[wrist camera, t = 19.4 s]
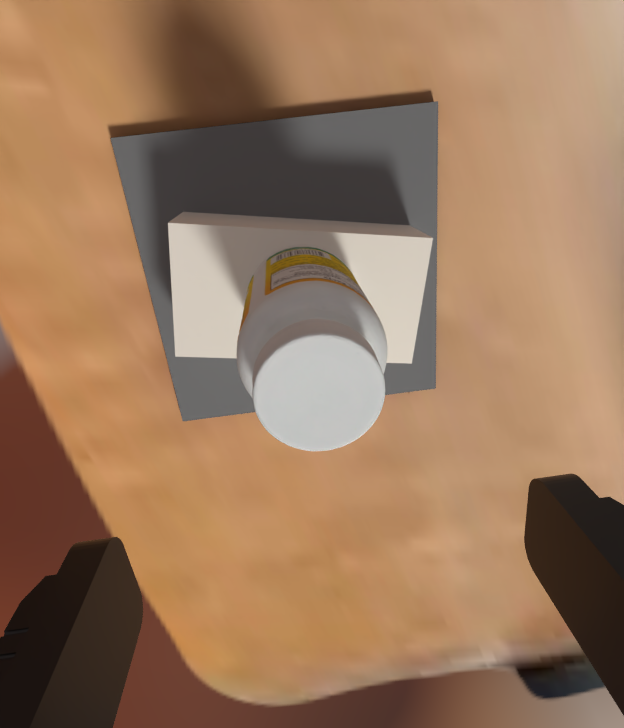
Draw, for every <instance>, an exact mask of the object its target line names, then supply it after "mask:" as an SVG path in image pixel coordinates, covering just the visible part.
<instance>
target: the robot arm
mask: <svg viewBox="0 0 624 728" xmlns="http://www.w3.org/2000/svg"><path fill="white" fill-rule="evenodd" d="M524 541H525V549H526V553H527V557H528V560H529V563H530V565H531V567H532V569H533V571H534V573H535V575H536V576H537V578H538V579H539V581H540V583H541V584H542V586H543V587H544V589H545V591H546V592H547V594H548V595H549V597H550V599H551V600H552V602H553V603H554V605H555V607H556V608H557V610H558V611H559V613H560V614H561V616H562V618H563V619H564V621H565V622H566V624H567V626H568V627H569V629H570V630H571V632H572V634H573V635H574V637H575V638H576V640H577V642H578V643H579V645H580V646H581V648H582V650H583V651H584V653H585V654H586V656H587V658H588V659H589V661H590V662H591V664H592V666H593V667H594V669H595V670H596V672H597V674H598V675H599V677H600V678H601V680H602V682H603V683H604V685H605V686H606V688H607V690H608V691H609V693H610V694H611V696H612V698H613V699H614V701H615V702H616V704H617V705H618V707H619V709H620V710H621V712H622V714H623V715H624V505H623V504H621V503H619V502H617V501H616V500H614V499H612V498H611V497H605V498H599V497H598V496H597V495H596V494H595V493H594V492H593V491H592V490H591V489H590V488H589V487H588V486H587V484H586V483H585V482H584V481H583V480H582V479H581V478H580V477H578V476H577V475H575V474H565V475H558V476H551V477H544V478H537V479H533V480H532V481H531V482H530V485H529V492H528V503H527V514H526V525H525V536H524ZM142 615H143V602H142V595H141V591H140V589H139V586H138V583H137V580H136V578H135V575H134V572H133V570H132V567H131V564H130V561H129V559H128V556H127V553H126V551H125V548H124V545H123V543H122V541H121V540H120V539H119V538H118V537H112V538H106V539H99V540H91V541H84V542H78V543H75V544H74V545H73V546H72V547H71V549H70V550H69V552H68V554H67V556H66V558H65V560H64V562H63V563H62V565H61V568H60V569H59V571H58V573H57V575H51V576H45V577H44V579H42V581H41V582H40V583H39V584H38V585H37V586H36V587H35V588H34V589H33V590H32V591H31V592H30V593H29V594H28V595H27V596H26V597H25V598H24V599H23V600H22V601H21V603H20V604H19V606H18V608H17V610H16V611H15V613H14V615H13V617H12V618H11V620H10V622H9V624H8V626H7V627H6V629H5V631H4V632H5V634H4V637H1V638H0V728H113V724H114V721H115V717H116V714H117V710H118V707H119V703H120V700H121V696H122V692H123V689H124V686H125V682H126V678H127V675H128V671H129V668H130V664H131V661H132V657H133V654H134V650H135V647H136V643H137V639H138V636H139V632H140V629H141V624H142V617H143V616H142Z"/></svg>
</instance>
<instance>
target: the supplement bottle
mask: <svg viewBox="0 0 624 728" xmlns="http://www.w3.org/2000/svg"><path fill="white" fill-rule="evenodd" d="M386 363H387V339H386V335H385V331H384V328H383V325H382V323H381V321H380V319H379V317H378V315H377V314H376V312H375V310H374V308H373V307H372V305H371V304H370V302H369V300H368V299H367V297H366V295H365V294H364V292H363V291H362V289H361V287H360V286H359V284H358V283H357V281H356V279H355V277H354V275H353V274H352V272H351V271H350V270H349V268H348V267H347V266H346V265H345V263H344V262H343V261H342V260H340V259H339V258H338V257H337V256H335V255H334V254H332V253H330V252H328V251H326V250H324V249H321V248H318V247H314V246H292V247H288V248H284V249H282V250H279V251H277V252H275V253H273V254H272V255H270V256H269V257H268V258H266V259H265V260H264V261H263V262H262V263H261V264H260V265H259V266H258V268H257V269H256V271H255V272H254V274H253V276H252V278H251V280H250V282H249V285H248V289H247V293H246V298H245V304H244V310H243V316H242V321H241V326H240V330H239V335H238V340H237V366H238V371H239V374H240V377H241V380H242V382H243V384H244V386H245V388H246V390H247V391H248V393H249V394H250V396H251V397H252V398H253V403H254V408H255V412H256V414H257V416H258V418H259V420H260V421H261V423H262V425H263V426H264V427H265V429H266V430H267V431H268V432H269V433H270V434H271V435H272V436H273V437H275V438H276V439H278V440H279V441H281V442H283V443H284V444H286V445H289V446H291V447H294V448H298V449H302V450H307V451H326V450H332V449H336V448H340V447H342V446H345V445H347V444H349V443H351V442H353V441H355V440H356V439H358V438H359V437H361V436H362V435H363V434H364V433H365V432H366V431H368V429H369V428H370V427H371V426H372V425H373V424H374V422H375V421H376V419H377V418H378V416H379V414H380V412H381V409H382V406H383V403H384V398H385V380H384V375H383V374H384V372H385V368H386Z"/></svg>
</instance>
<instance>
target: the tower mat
mask: <svg viewBox="0 0 624 728" xmlns="http://www.w3.org/2000/svg"><path fill="white" fill-rule="evenodd" d="M111 142H112V146H113V150H114V154H115V158H116V162H117V166H118V169H119V173H120V177H121V181H122V185H123V189H124V193H125V197H126V201H127V205H128V209H129V212H130V216H131V220H132V224H133V228H134V232H135V236H136V240H137V244H138V248H139V252H140V256H141V259H142V263H143V267H144V271H145V275H146V279H147V283H148V287H149V291H150V295H151V299H152V302H153V306H154V310H155V314H156V318H157V322H158V326H159V330H160V334H161V338H162V342H163V346H164V349H165V353H166V357H167V361H168V365H169V369H170V373H171V377H172V381H173V385H174V389H175V392H176V396H177V400H178V404H179V408H180V412H181V416H182V420H183V421H189V420H197V419H205V418H212V417H220V416H228V415H235V414H243V413H251V412H255V408H254V403H253V398H252V397H251V396H250V394H249V393H248V391H247V390H246V388H245V386H244V384H243V382H242V380H241V377H240V374H239V371H238V366H237V358H206V357H175V342H174V324H173V306H172V288H171V270H170V251H169V233H168V222H170V221H171V220H172V219H174V218H175V217H177V216H178V215H179V214H181V213H182V212H196V213H213V214H229V215H246V216H263V217H279V218H296V219H312V220H329V221H346V222H362V223H379V224H396V225H410V226H412V227H414V228H416V229H417V230H419V231H421V232H423V233H425V234H427V235H428V236H430V237H432V238H433V241H432V247H431V253H430V259H429V265H428V271H427V277H426V283H425V288H424V294H423V300H422V306H421V312H420V318H419V324H418V330H417V336H416V342H415V347H414V353H413V359H412V364H408V363H386V368H385V372H384V374H383V375H384V380H385V395H389V394H396V393H404V392H412V391H419V390H427V389H435V388H436V284H437V166H438V101H437V102H428V103H419V104H410V105H402V106H393V107H384V108H375V109H366V110H357V111H348V112H339V113H330V114H321V115H312V116H303V117H294V118H285V119H276V120H267V121H259V122H250V123H241V124H232V125H223V126H214V127H205V128H196V129H187V130H178V131H169V132H160V133H151V134H142V135H133V136H124V137H116V138H111Z"/></svg>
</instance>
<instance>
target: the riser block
mask: <svg viewBox="0 0 624 728" xmlns="http://www.w3.org/2000/svg"><path fill="white" fill-rule="evenodd" d="M168 233H169V251H170V270H171V288H172V306H173V324H174V342H175V357H206V358H237V340H238V335H239V330H240V326H241V321H242V316H243V310H244V304H245V298H246V293H247V289H248V285H249V282H250V280H251V278H252V276H253V274H254V272H255V271H256V269H257V268H258V266H259V265H260V264H261V263H262V262H263V261H264V260H265V259H266V258H268V257H269V256H270V255H272V254H273V253H275V252H277V251H279V250H282V249H284V248H288V247H292V246H314V247H318V248H321V249H324V250H326V251H328V252H330V253H332V254H334V255H335V256H337V257H338V258H339V259H340V260H342V261H343V262H344V263H345V265H346V266H347V267H348V268H349V270H350V271H351V272H352V274H353V275H354V277H355V279H356V281H357V283H358V284H359V286H360V287H361V289H362V291H363V292H364V294H365V295H366V297H367V299H368V300H369V302H370V304H371V305H372V307H373V308H374V310H375V312H376V314H377V315H378V317H379V319H380V321H381V323H382V325H383V328H384V331H385V335H386V339H387V363H408V364H412V359H413V353H414V347H415V342H416V336H417V330H418V324H419V318H420V312H421V306H422V300H423V294H424V288H425V283H426V277H427V271H428V265H429V259H430V253H431V247H432V241H433V238H432V237H430V236H428V235H427V234H425V233H423V232H421V231H419V230H417V229H416V228H414V227H412V226H410V225H396V224H379V223H362V222H346V221H329V220H312V219H296V218H279V217H263V216H246V215H229V214H213V213H196V212H182V213H181V214H179V215H178V216H177V217H175V218H174V219H172V220H171V221H170V222H168Z"/></svg>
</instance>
